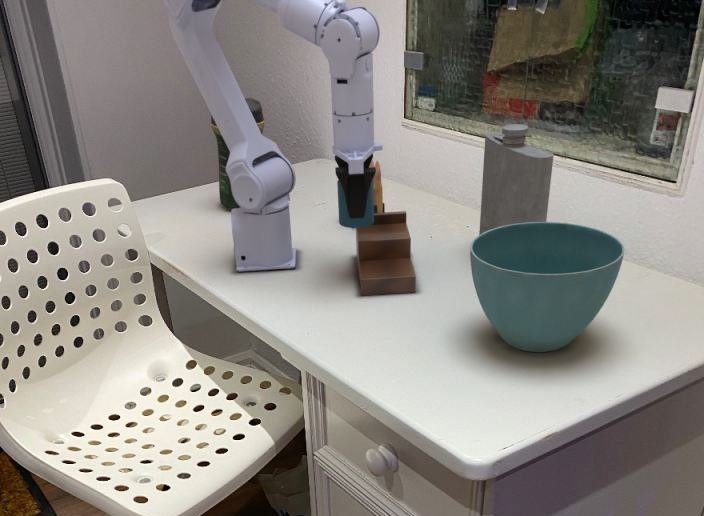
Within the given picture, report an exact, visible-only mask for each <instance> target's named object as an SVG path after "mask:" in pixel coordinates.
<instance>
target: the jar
mask: <svg viewBox="0 0 704 516" xmlns="http://www.w3.org/2000/svg"><path fill="white" fill-rule="evenodd" d="M336 182H337V183H336V185H337V205H338V224H339V225H340V227H344V228H349V229H356V228H361V227H366V226H369V225H371V224H373V222H374V191H373V179H372V182H371V184H370V188H369V192H368V197H367V204H366V211H365V215H364V218H354V219H350V217H349V214H348V210H347V205H346V199H345V195H344V191H343V188H342V186H341V183H340V181H339V180H337V181H336Z"/></svg>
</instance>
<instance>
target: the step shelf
mask: <svg viewBox="0 0 704 516" xmlns="http://www.w3.org/2000/svg"><path fill="white" fill-rule="evenodd" d="M355 246H356V247H355V248H356V262H357V271H358V279H359V287H360V293H361V294H360V295H361V296H377V295H379V296H380V295H393V294H408V293H411V294H413V293H416V286H417V285H416V281H417V280H416V278H417V277H416V273H415V269H414V265H413V262H412V261H413V260H412V258H411V255H412V254H411V253H412V252H411V251H412V250H411V249H412V247H411V246H412V239H411V234H410V231H409V228H408V224H407V211H406V210H404V211H403V210H402V211H388V212H387V211H385V213H374V222H373V224H371V225H369V226H366V227H361V228H355Z"/></svg>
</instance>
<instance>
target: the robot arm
mask: <svg viewBox="0 0 704 516" xmlns="http://www.w3.org/2000/svg"><path fill="white" fill-rule="evenodd" d="M162 1H163V3H164V5H165V8H166V13H167V18H168V23H169V29H170V32H171V35H172V37H173V40H174V41H175V43H176V45H177V48H178V50H179V52H180V53H181V56H182V58H183V60H184V62H185V65H186V67H187V68H188V71H189V72H190V74H191V76H192V79H193V80H194V83H195V84H196V87H197V89H198V90H199V93H200V94H201V97H202V98H203V100H204V102H205V104H206V108H208V110H209V112H210V116H211V115H212V117H213V119H214V121H215V123H216V125H217V127H218V129H219V131H220V133H221V135H222V137H223V139H224V141H225V143H226V145H227V147H228V149H229V151H230V155H229V159H228V162H227V166H226V172H227V174H228V176H229V179H230V182H231V190H232V194H233V197H234V199H235V201H236V202H237V204H238V205H239V206H240V207H241V208H234V209H231V212H230V220H231V235H232V242H233V255H234V257H235V265H236V272H255V271H269V270H285V269H294V268H295V269H296V261H297V258H296V257H297V249H296V247H293V239H292V227H291V215H290V214H291V213H290V201H291V196H290V193H292V192H293V190H294V188H295V186H296V180H297V177H296V172H295V171H296V170H295V168H294V166H293V164H292V163H291V161H290V160H289V159H287V158H286V156H284V154H283V153H282V152H281V150H280V148H279V146H278V144H277V142H275V141H273V140H272V139H269V138H267V137H266V136H264V135H263V133H262V134H261V132H260V130H259V128H258V126H257V124H256V122H255V119H254V117H253V115H252V113H251V111H250V109H249V107H248V105H247V103H246V101H245V98H246V97H244V94H243V93H242V92H243V91H242V90H241V88H240V86H239V83H238V82H237V80H236V78H235V76H234V73H233V71H232V69H231V67H230V65H229V63H228V61H227V59H226V57H225V55H224V52H223V50H222V48H221V46H220V44H219V42H218V40H217V37H216V35H215V34H214V32H213V26H214V21H215V17H216V14H217V12H218V11H219V9H220V6H221V5H222V3H223V1H224V0H162ZM249 1H250V2H252V3H254V4H256V5H258V6H261V7H263V8H265V9H268V10H269V11H272V12H273V13H276V14H277V15H278V18H279V22H280V24H281V26H282V27H283V28H284V30H287V31H289V32H291V33H292V34H295V35H297V36H298V37H300V38H302V39H304V40H305V41H307V42H310V43H311V44H313V45H315V46H317V47H318V48H320V49H321V51H322V53H323V56H325V59H326V60H327V62H328V66H329V67H328V69H329V74H330V88H331V90H330V91H331V93H330V94H331V111H332V113H331V114H332V134H333V145H332V153H333V155H334V161H335V163H336V164H337V166H336V167H335V168H334V169H335V170H334V171H335V176H336V178H337V179H338V180H339V181H340V183H341V186H342V188H343V191H344V195H345V199H346V205H347V210H348V214H349V217H350V219H354V218H364V215H365V211H366V204H367V197H368V192H369V188H370V184H371V182H372V179H373V177H374V175H375V172H376V169H375V166H374V167H371V168H369V166H370V163H371V161H372V160H373V158H374V153H375V152H378V151H383V150H384V149H383V142H382V141H375V119H374V118H375V113H374V112H375V111H374V106H375V105H374V63H373V62H374V61H373V60H374V56H373V52H374V51H375V50H376V48H377V46H378V45H379V42H380V37H381V36H380V35H381V31H380V25H379V21H378V19H377V17H376V16H375V15H374V14H373V13H372V12H371V11H370V10H368V9H367V7H366V6H363V5H357V6H353V7H351V8H348V6H347V1H346V0H249ZM253 162H255V163H256V164H254V165H252V163H253ZM338 180H337V181H338Z"/></svg>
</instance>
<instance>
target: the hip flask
mask: <svg viewBox="0 0 704 516" xmlns="http://www.w3.org/2000/svg"><path fill="white" fill-rule="evenodd" d="M528 133H529V126H528V125H526V124H522V123H521V124H520V123H511V124H506V125H503V126H502V127H501V131H492V132H488V133H486V134H484V151H483V152H484V153H483V165H482V166H483V168H482V184H481V200H480V201H481V202H480V217H479V218H480V219H479V235H480V234H482V233H484V232H486V231H488V230H491V229H494V228H497V227H501V226H505V225H511V224H518V223H527V222H547V220H548V219H547V218H548V210H549V200H550V191H551V182H552V174H553V173H552V172H553V165H554V164H553V163H554V155H555V154H554V153H553V152H550V151H547V150H543V149H540V148H537V147H534V146H531V145H529V144H527V143H526V141H527V140H526V138H527V136H526V135H527V134H528ZM479 235H478V236H479Z"/></svg>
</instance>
